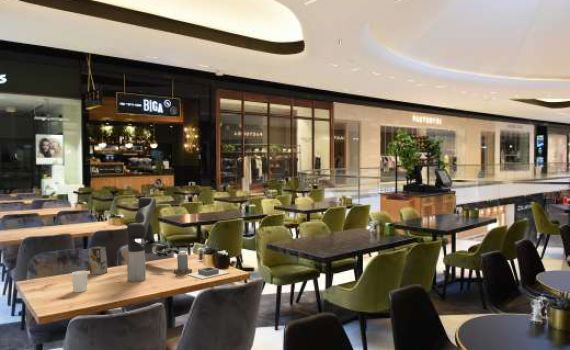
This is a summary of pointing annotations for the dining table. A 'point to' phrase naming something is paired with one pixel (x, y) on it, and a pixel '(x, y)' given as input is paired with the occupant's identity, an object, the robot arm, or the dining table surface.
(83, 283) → the white cup
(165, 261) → the dining table surface
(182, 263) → the grey bottle
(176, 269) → the holster
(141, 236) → the robot arm
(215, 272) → the port
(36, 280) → the dining table surface
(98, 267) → the coffee box
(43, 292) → the dining table surface
